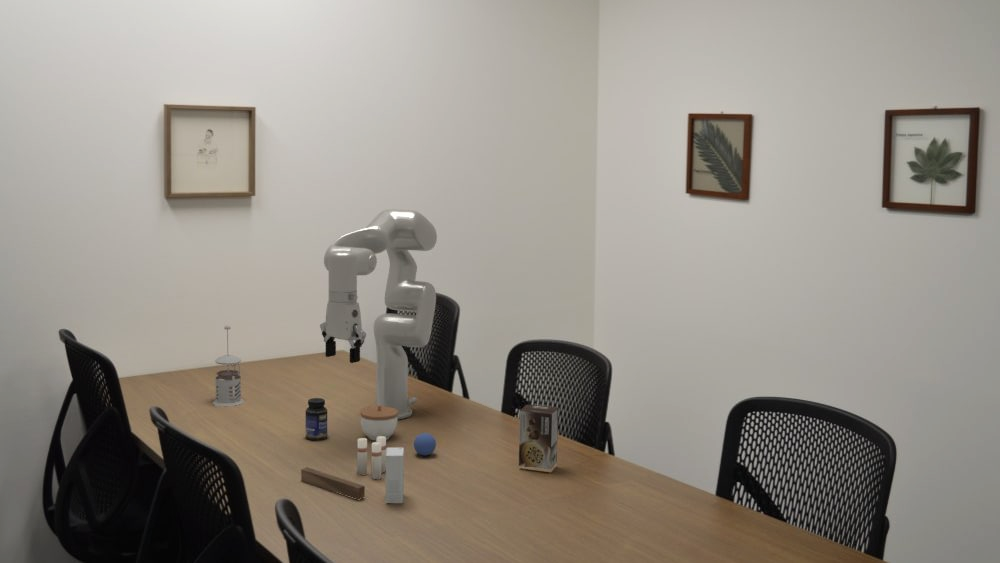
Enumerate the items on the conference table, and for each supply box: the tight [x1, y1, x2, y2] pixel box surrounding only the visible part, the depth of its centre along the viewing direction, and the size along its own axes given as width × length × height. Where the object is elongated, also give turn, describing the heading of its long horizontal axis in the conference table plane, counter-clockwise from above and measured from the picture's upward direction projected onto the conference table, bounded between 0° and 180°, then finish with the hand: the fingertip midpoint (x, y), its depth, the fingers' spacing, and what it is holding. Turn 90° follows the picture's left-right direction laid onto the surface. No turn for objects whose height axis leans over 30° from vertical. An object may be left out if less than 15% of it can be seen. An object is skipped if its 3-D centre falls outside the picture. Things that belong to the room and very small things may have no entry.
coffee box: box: [518, 404, 559, 469], centre depth 253 cm, size 9×6×16 cm
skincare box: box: [385, 447, 405, 504], centre depth 229 cm, size 6×4×12 cm
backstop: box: [300, 466, 366, 500], centre depth 235 cm, size 2×20×3 cm, turn 53°
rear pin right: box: [356, 437, 368, 475], centre depth 246 cm, size 2×2×9 cm
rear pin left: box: [370, 441, 382, 480], centre depth 243 cm, size 2×2×9 cm
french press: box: [212, 325, 245, 407], centre depth 306 cm, size 10×12×25 cm
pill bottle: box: [305, 397, 328, 441], centre depth 274 cm, size 6×6×11 cm
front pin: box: [376, 436, 387, 473], centre depth 248 cm, size 2×2×9 cm
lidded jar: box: [359, 405, 399, 442], centre depth 276 cm, size 11×11×9 cm
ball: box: [413, 432, 437, 456], centre depth 262 cm, size 6×6×6 cm
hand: (342, 359), depth 262 cm, fingers open, 9 cm apart
